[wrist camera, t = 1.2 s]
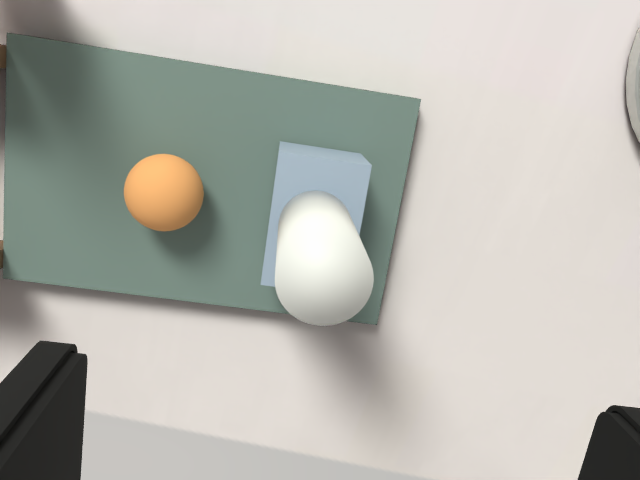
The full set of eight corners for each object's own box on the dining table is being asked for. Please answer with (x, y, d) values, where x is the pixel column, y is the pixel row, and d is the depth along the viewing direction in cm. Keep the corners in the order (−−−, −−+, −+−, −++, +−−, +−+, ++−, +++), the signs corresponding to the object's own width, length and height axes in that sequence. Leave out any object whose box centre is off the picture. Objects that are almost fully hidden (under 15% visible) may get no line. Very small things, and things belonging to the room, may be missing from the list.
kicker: (360, 153, 29) (402, 198, 18) (340, 268, 31) (368, 370, 20) (280, 141, 29) (275, 180, 18) (263, 257, 30) (251, 356, 20)
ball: (211, 155, 29) (201, 166, 26) (204, 225, 30) (193, 245, 26) (137, 144, 29) (116, 153, 25) (132, 215, 30) (111, 234, 26)
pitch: (415, 98, 30) (420, 99, 29) (373, 316, 33) (376, 324, 32) (18, 34, 28) (6, 32, 27) (13, 270, 31) (2, 278, 30)
